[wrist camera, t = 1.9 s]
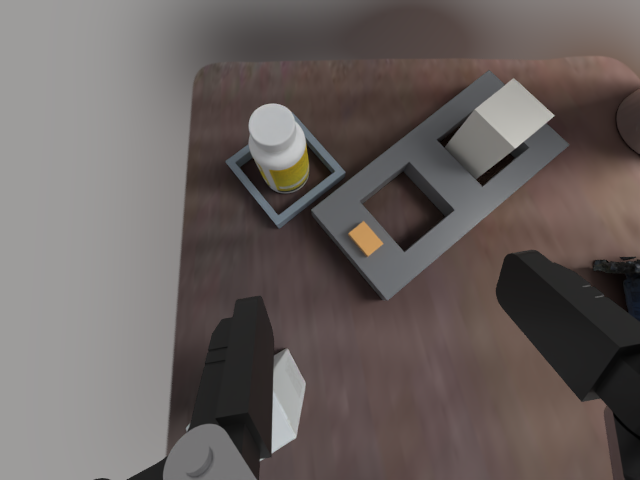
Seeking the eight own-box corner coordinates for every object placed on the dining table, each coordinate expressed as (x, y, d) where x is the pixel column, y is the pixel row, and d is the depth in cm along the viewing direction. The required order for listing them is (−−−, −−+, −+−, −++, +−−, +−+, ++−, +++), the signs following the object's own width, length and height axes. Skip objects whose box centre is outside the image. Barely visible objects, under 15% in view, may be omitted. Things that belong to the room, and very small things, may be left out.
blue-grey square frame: (293, 119, 36) (292, 112, 34) (344, 177, 34) (345, 172, 33) (229, 167, 35) (225, 161, 33) (279, 228, 33) (277, 225, 32)
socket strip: (478, 85, 36) (520, 26, 28) (552, 155, 34) (619, 113, 26) (312, 216, 33) (308, 191, 26) (382, 300, 32) (401, 301, 24)
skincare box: (256, 416, 30) (211, 495, 18) (237, 377, 30) (181, 427, 19) (309, 384, 30) (298, 439, 18) (288, 345, 31) (265, 376, 19)
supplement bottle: (318, 164, 35) (315, 113, 25) (294, 202, 34) (282, 165, 24) (279, 143, 35) (261, 85, 26) (254, 180, 34) (227, 135, 25)
